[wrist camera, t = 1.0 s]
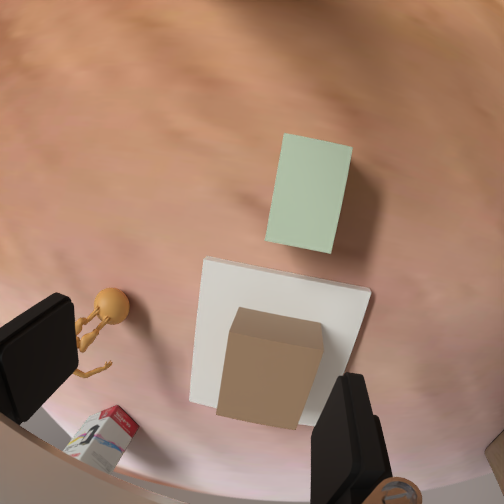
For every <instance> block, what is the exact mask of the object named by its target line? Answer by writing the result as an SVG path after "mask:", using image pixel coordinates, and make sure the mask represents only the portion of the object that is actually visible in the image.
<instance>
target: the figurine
mask: <svg viewBox="0 0 504 504" xmlns="http://www.w3.org/2000/svg"><path fill="white" fill-rule="evenodd" d="M129 308H130V306H129V301H128V298H127V296H126V295H125V294H124V293H123V292H122V291H121V290H119V289H116V288H106V289H104V290H102V291H100V292H99V293H98V295H97V296H96V298H95V301H94V311H93V312H92V313H91V314H90V315H89V316H88V318H87V319H86V318H79V319H78V320H77V321H76V322H75V330H76V336H77V335H78V334H79V333H80V332H81V330H82V325H83V324H84V325H86V324H87V323H88V322H90V321H91V320H92V319H93V318H94V317H95V316H96V315H97V317H98V318H99V319H100V320H101V321H102V322H101V323H100V324H99V325H98V326H97V328H96V329H94V330H93V332H91V333H88V334H85V335H84V336H83V337H82V338H81V340H80V338H79V337H76V341H77V349H78V348H79V350H80V352H82V353H83V352H85V351H86V349H87V348H88V346H89V345H90V344H92V342H93V341H94V340H95V338H96V336H97V335H98V334H99V331H100V330H101V329H102V328H103V327H104V326H105V325H106V324H110V325H114V324H119V323H121V322H122V321H123V320H125V318H126V317H127V315H128V313H129ZM110 362H111V361H110ZM110 362H109V363H108V364H107V362H106V363H105V366H104V367H100V368H96V369H94V370H92V371H89V372H87V373H84V372H82V371H80V370H78V369H76V370H75V371H74V372H73V373H72V374H75V375H77V376H79V377H82V378H88V377H90V376H92V375H94V374H96V373H99V372H101V371H103V370H106V369H107V368H109V367H110V366H111V365H112V362H111V363H110Z"/></svg>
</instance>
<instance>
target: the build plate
mask: <svg viewBox="0 0 504 504" xmlns="http://www.w3.org/2000/svg"><path fill="white" fill-rule="evenodd" d="M370 295H371V291H370V289H369V288H368V287H362V286H357V285H352V284H347V283H342V282H336V281H331V280H326V279H321V278H316V277H311V276H306V275H301V274H295V273H290V272H285V271H280V270H275V269H270V268H265V267H260V266H255V265H250V264H245V263H240V262H235V261H231V260H226V259H221V258H216V257H211V256H206V257H205V258H204V260H203V268H202V277H201V285H200V294H199V302H198V312H197V321H196V331H195V341H194V351H193V362H192V373H191V385H190V397H189V401H191V402H194V403H198V404H202V405H206V406H210V407H214V408H217V411H216V415H219V416H224V417H228V418H232V419H237V420H242V421H247V422H252V423H257V424H262V425H267V426H273V427H279V428H285V429H291V430H296V428H297V425H298V424H302V425H309V426H315V425H316V423H317V421H318V419H319V417H320V415H321V413H322V410H323V408H324V406H325V404H326V402H327V400H328V397H329V395H330V393H331V391H332V388H333V386H334V384H335V382H336V379H337V377H338V376H339V375H340V376H343V373H344V371H345V368H346V365H347V363H348V360H349V357H350V355H351V352H352V349H353V346H354V344H355V341H356V338H357V335H358V332H359V329H360V326H361V323H362V320H363V317H364V314H365V311H366V308H367V305H368V302H369V298H370Z"/></svg>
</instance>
